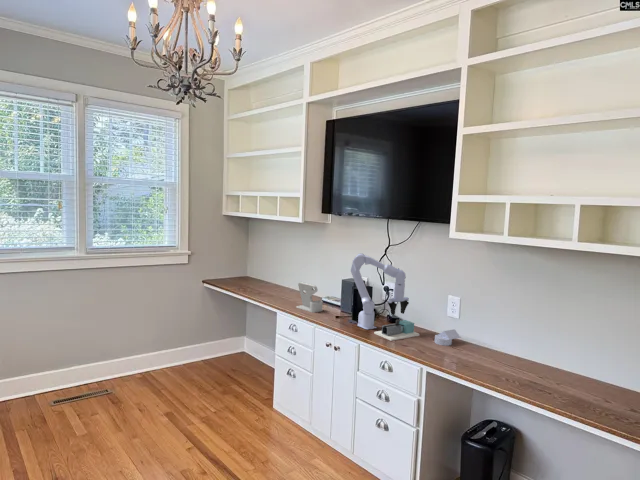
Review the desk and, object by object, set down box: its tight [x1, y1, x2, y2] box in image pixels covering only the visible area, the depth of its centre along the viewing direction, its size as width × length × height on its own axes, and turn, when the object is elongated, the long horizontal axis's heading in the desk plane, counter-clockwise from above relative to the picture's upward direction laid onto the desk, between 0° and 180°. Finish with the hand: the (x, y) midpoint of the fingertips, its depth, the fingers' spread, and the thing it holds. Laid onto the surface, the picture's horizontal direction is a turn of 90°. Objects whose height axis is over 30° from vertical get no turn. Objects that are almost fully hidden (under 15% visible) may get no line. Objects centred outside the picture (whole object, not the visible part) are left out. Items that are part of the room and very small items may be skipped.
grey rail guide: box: [381, 322, 401, 336], centre depth 250 cm, size 5×10×5 cm, turn 124°
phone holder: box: [295, 281, 324, 313], centre depth 299 cm, size 17×10×18 cm, turn 46°
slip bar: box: [395, 319, 404, 332], centre depth 255 cm, size 3×10×7 cm, turn 124°
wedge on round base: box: [434, 328, 461, 347], centre depth 244 cm, size 9×7×13 cm
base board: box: [373, 330, 420, 341], centre depth 253 cm, size 14×22×1 cm, turn 124°
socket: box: [399, 319, 415, 334], centre depth 257 cm, size 7×6×6 cm
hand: (397, 313), depth 260 cm, fingers open, 7 cm apart
